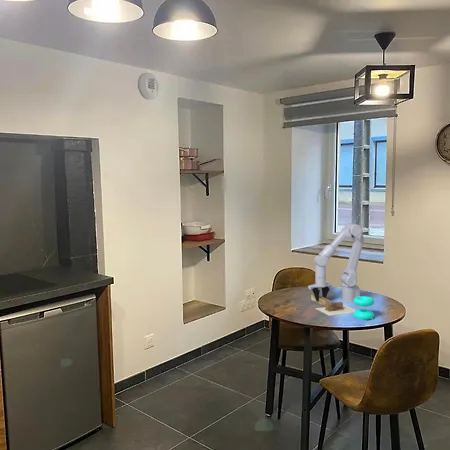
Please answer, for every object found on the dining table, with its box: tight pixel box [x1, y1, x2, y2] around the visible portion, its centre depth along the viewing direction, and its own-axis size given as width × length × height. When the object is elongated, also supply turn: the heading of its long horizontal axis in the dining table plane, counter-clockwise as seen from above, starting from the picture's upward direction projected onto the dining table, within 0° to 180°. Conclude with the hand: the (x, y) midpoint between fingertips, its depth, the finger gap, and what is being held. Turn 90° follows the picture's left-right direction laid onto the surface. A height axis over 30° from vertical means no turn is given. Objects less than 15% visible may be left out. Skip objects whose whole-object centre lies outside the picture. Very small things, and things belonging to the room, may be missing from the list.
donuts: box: [352, 295, 375, 321], centre depth 231 cm, size 10×10×10 cm
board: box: [315, 304, 357, 316], centre depth 244 cm, size 18×14×1 cm
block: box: [325, 301, 344, 312], centre depth 245 cm, size 9×4×4 cm, turn 108°
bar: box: [310, 293, 332, 307], centre depth 260 cm, size 4×16×4 cm, turn 16°
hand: (320, 300), depth 260 cm, fingers closed on bar, 4 cm apart
